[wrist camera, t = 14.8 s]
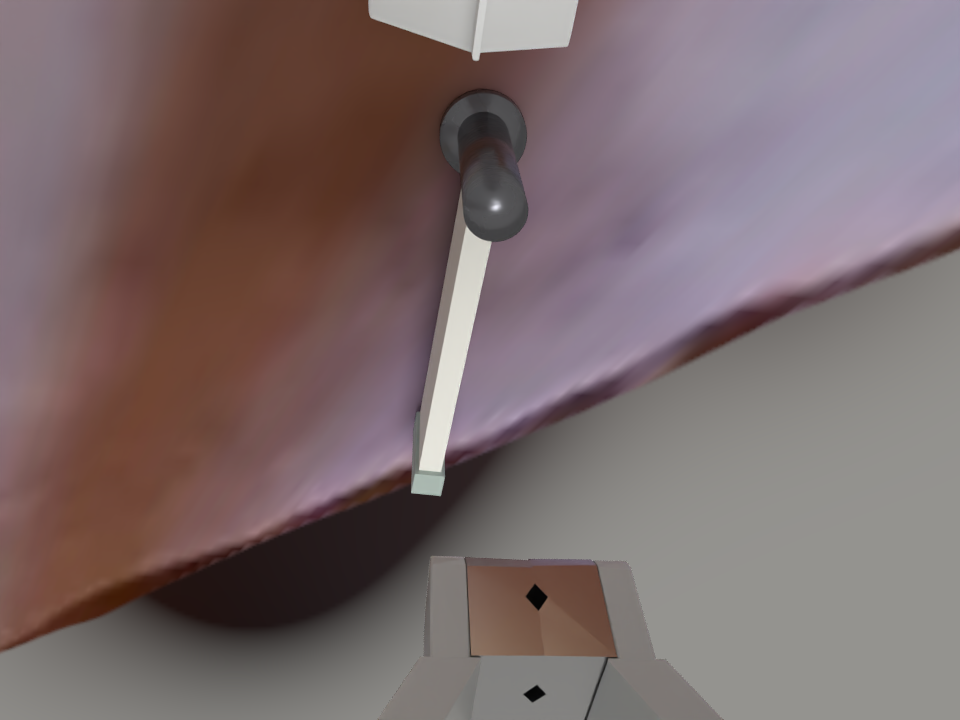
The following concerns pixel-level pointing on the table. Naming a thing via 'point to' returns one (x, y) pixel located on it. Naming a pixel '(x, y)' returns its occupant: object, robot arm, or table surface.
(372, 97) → the table surface
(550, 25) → the milk carton
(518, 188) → the hinge post
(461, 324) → the gate
